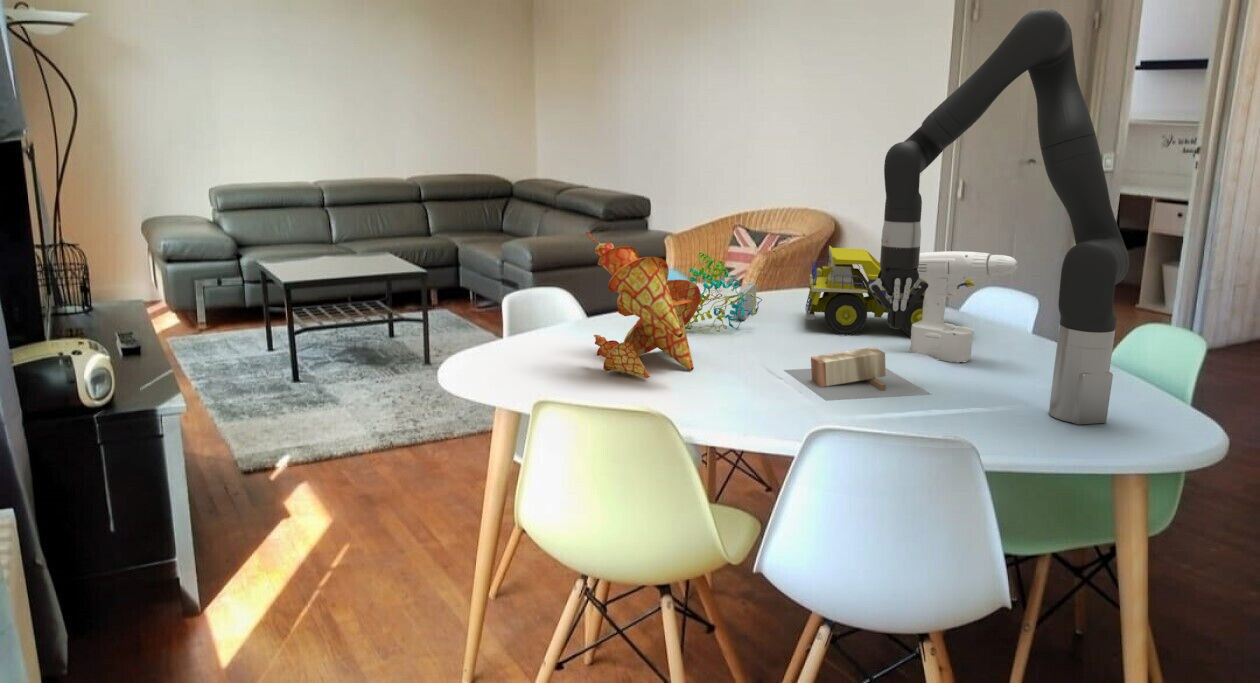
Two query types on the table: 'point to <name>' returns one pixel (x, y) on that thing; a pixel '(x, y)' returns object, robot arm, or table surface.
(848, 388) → the mat
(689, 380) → the table surface
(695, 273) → the molecular model
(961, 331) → the power drill
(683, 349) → the sculpture
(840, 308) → the toy truck
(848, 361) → the birch block
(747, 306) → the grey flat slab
